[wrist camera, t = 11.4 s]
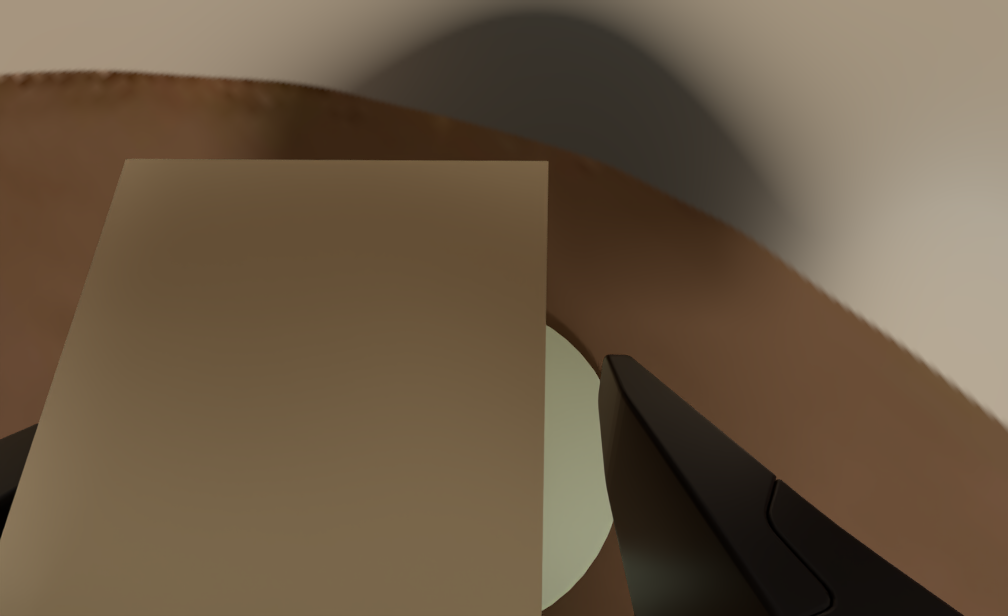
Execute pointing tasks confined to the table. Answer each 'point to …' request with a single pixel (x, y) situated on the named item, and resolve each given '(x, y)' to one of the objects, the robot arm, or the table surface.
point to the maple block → (296, 398)
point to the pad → (571, 470)
